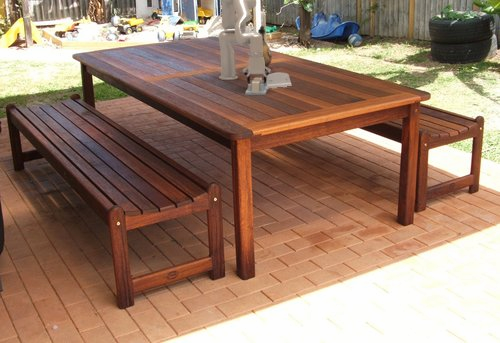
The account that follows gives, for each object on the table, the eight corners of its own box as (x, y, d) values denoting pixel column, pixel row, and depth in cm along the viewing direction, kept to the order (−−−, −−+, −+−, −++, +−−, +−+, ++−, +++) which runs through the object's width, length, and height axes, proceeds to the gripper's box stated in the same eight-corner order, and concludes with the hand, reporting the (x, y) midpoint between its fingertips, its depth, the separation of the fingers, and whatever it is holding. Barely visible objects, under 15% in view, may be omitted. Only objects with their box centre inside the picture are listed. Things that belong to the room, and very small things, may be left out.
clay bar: (254, 86, 436) (254, 77, 434) (262, 86, 435) (261, 77, 433) (251, 91, 421) (251, 82, 419) (259, 91, 420) (258, 82, 418)
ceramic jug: (271, 71, 489) (271, 27, 479) (249, 71, 490) (249, 28, 480) (271, 66, 505) (271, 24, 496) (250, 66, 506) (249, 25, 496)
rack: (249, 88, 438) (249, 79, 436) (268, 88, 436) (268, 79, 434) (245, 94, 421) (245, 85, 419) (265, 94, 419) (265, 85, 417)
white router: (267, 88, 435) (265, 72, 435) (265, 89, 440) (263, 74, 439) (292, 86, 440) (290, 70, 440) (289, 87, 444) (288, 72, 444)
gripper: (241, 55, 419) (242, 84, 424) (270, 56, 416) (270, 84, 422) (243, 53, 426) (243, 81, 431) (271, 53, 423) (271, 81, 429)
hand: (256, 82), depth 427 cm, fingers open, 9 cm apart
